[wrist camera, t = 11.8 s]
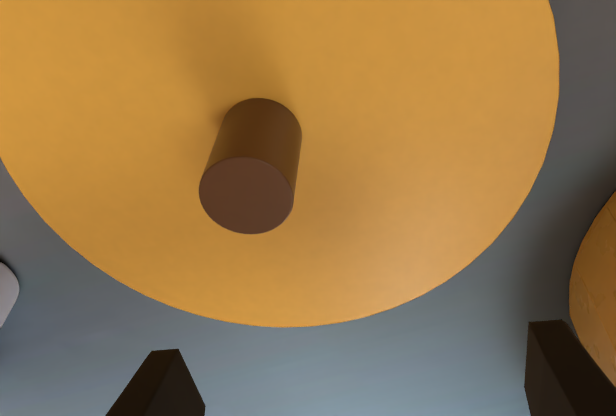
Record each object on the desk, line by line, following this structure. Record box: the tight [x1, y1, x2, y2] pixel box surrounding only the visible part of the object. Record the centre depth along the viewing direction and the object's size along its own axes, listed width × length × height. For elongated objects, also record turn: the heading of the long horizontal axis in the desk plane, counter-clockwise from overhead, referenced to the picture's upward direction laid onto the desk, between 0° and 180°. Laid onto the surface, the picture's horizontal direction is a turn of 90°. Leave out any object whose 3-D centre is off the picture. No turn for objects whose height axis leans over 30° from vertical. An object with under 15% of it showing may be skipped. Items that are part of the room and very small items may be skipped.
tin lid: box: [0, 0, 559, 327], centre depth 17 cm, size 18×18×5 cm
